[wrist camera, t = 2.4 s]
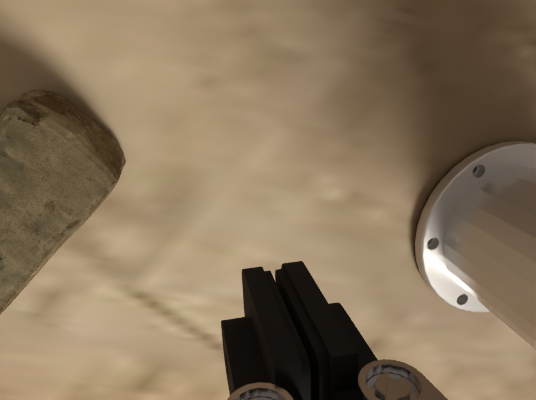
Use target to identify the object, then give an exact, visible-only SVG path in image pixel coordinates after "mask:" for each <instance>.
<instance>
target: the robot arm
mask: <svg viewBox="0 0 536 400" xmlns="http://www.w3.org/2000/svg"><path fill="white" fill-rule="evenodd" d="M415 253H416V261H417V265H418V268H419V272H420V274H421V276H422V277H423V279H424V281H425V283H426V284H427V286H428V287H429V288H430V289H431V290H432V291H433V292H434V293H435V294H436V295H437V296H438V297H440V298H441V299H442V300H443V301H444V302H446V303H447V304H449V305H451V306H453V307H455V308H457V309H460V310H465V311H469V312H492V313H493V314H494V315H495V316H496V317H498V318H499V319H500V320H501V321H502V322H504V323H505V324H506V325H507V326H508V327H510V328H511V329H512V330H513V331H514V332H516V333H517V334H518V335H519V336H520V337H522V338H523V339H524V340H525V341H526V342H528V343H529V344H530V345H531V346H532V347H533V348H535V349H536V143H531V142H523V141H511V142H502V143H498V144H495V145H492V146H488V147H485V148H483V149H481V150H479V151H477V152H475V153H473V154H471V155H469V156H468V157H467V158H465V159H464V160H463V161H461V162H460V163H459V164H457V165H456V166H454V167H453V169H452V170H451V171H450V172H449V173H448V174H447V175H446V176H445V177H444V178H443V179H442V180H441V181H440V182H439V184H438V185H437V186H436V188H435V189H434V191H433V192H432V193H431V195H430V197H429V199H428V201H427V203H426V205H425V206H424V208H423V210H422V213H421V216H420V220H419V223H418V226H417V231H416V239H415ZM242 283H243V298H244V313H245V317H242V318H235V319H229V320H223V321H221V328H222V339H223V350H224V359H225V367H226V374H227V380H228V386H229V392H230V396H229V398H228V399H227V400H448V399H447V398H446V397H445V396H444V395H443V394H442V393H441V392H440V391H439V390H438V389H437V388H436V387H435V386H434V385H433V384H432V383H431V382H430V381H429V380H428V379H427V378H426V377H425V376H424V375H423V374H422V373H420V372H419V371H418V370H417V369H415V368H414V367H412V366H410V365H408V364H406V363H404V362H400V361H396V360H385V359H383V360H377V358H376V357H375V355H374V354H373V352H372V351H371V349H370V348H369V346H368V345H367V343H366V342H365V340H364V339H363V337H362V335H361V334H360V332H359V331H358V329H357V328H356V326H355V325H354V323H353V322H352V320H351V319H350V317H349V316H348V314H347V313H346V311H345V310H344V308H343V307H342V305H341V304H340V303H331V304H328V302H327V301H326V299H325V297H324V296H323V294H322V292H321V291H320V289H319V288H318V286H317V284H316V283H315V281H314V279H313V278H312V276H311V274H310V273H309V271H308V270H307V268H306V266H305V265H304V263H303V262H302V261H299V262H292V263H284V264H282V268H281V269H278V270H276V271H275V280H274V278H273V276H272V273H271V271H264V270H263V268H262V267H255V268H248V269H242Z"/></svg>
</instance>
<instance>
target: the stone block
mask: <svg viewBox="0 0 536 400" xmlns="http://www.w3.org/2000/svg"><path fill="white" fill-rule="evenodd" d="M125 163H126V160H125V157H124V153H123V152H122V150H121V148H120V146H119V144H118V142H117V140H115V139H114V138H113V137H112V136H111V135H109V134H108V133H107V132H106V131H104V130H103V129H101V128H100V127H99V126H98V125H97V123H96V122H95V121H94V120H93V119H91V118H90V117H88V116H86V115H84V114H82V113H81V112H80V111H78V110H77V109H76V108H75V107H74V106H72V105H71V104H70V103H69V102H68V101H67V100H66V99H65V98H63V97H62V96H60V95H58V94H56V93H53V92H49V91H45V90H33V91H29V92H28V93H25V94H23V95H22V96H21V97H20V98H19V99H18V100H15V101H13V102H11V103H9V104H8V105H7V106H6V108H5V109H4V111H3V112H2V114H1V115H0V314H1V313H2V312H3V311H4V310H5V309H6V308H7V307H8V306H9V305H10V304H11V303H12V301H13V300H14V299H15V298H16V297H17V296H18V294H19V293H20V292H21V291H22V290H23V289H24V288H25V287H26V286H27V284H28V283H29V282H30V281H31V280H32V279H33V277H34V276H35V275H36V274H37V273H38V272H39V271H40V269H41V268H42V267H43V266H44V265H45V264H46V262H47V261H48V260H49V259H50V258H51V257H52V256H53V255H54V253H55V252H56V251H57V250H58V249H59V248H60V247H61V246H62V244H63V243H64V242H65V241H66V240H67V239H68V238H69V237H70V236H71V235H72V234H73V233H74V232H75V231H76V230H77V229H79V228H80V227H81V226H82V225H83V224H84V222H85V221H86V220H87V219H88V218H89V217H90V216H91V215H92V213H93V212H94V211H95V210H96V209H97V208H98V206H99V205H100V204H101V203H102V202H103V201H104V200H105V198H106V197H107V196H108V195H109V194H110V193H111V191H112V190H113V188H114V187H115V185H116V184H117V182H118V180H119V177H120V175H121V171H122V169H123V167H124V165H125Z"/></svg>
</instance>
